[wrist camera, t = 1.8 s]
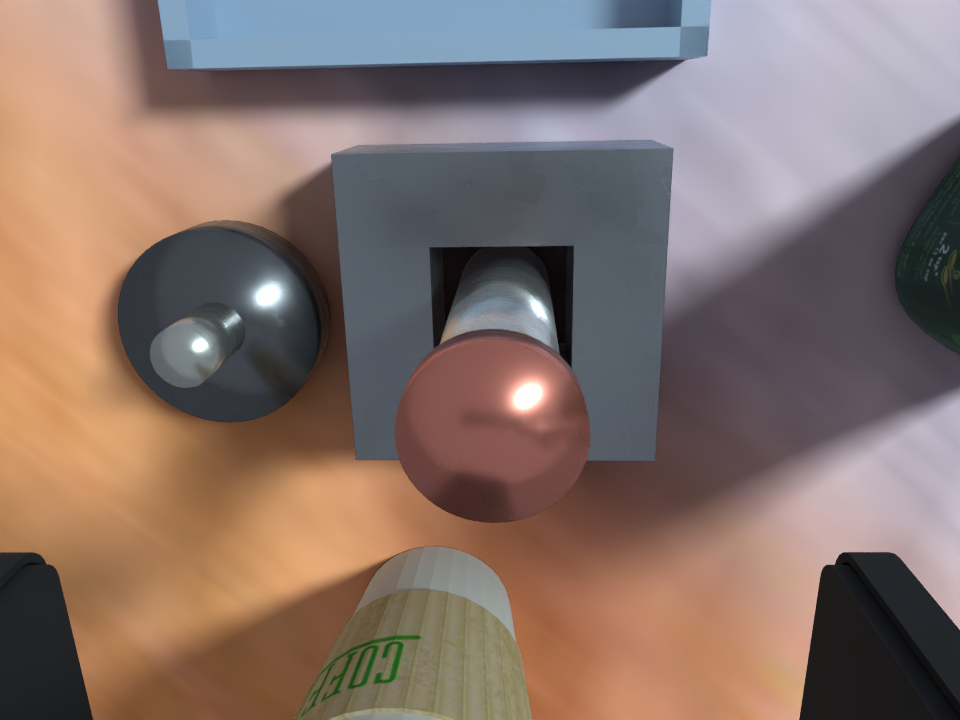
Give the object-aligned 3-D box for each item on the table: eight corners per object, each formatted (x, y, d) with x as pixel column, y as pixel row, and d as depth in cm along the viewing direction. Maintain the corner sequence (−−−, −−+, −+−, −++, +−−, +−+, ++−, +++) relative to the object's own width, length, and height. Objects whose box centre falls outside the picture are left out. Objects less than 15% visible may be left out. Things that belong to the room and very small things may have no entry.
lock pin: (560, 229, 27) (593, 343, 15) (559, 338, 29) (588, 523, 16) (447, 231, 28) (389, 343, 15) (451, 338, 29) (400, 522, 17)
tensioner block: (651, 140, 26) (673, 148, 22) (637, 413, 29) (655, 460, 26) (358, 145, 27) (331, 154, 23) (376, 413, 30) (355, 459, 26)
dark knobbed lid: (321, 218, 28) (280, 245, 23) (337, 401, 30) (302, 459, 25) (129, 221, 28) (50, 248, 23) (159, 401, 30) (93, 458, 26)
